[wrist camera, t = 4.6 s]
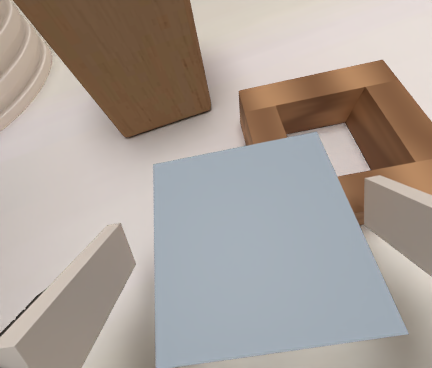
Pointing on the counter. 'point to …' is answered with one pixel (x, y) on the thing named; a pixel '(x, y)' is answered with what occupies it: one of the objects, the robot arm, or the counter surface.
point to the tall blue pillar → (261, 256)
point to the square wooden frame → (349, 122)
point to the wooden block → (128, 56)
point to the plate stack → (19, 63)
